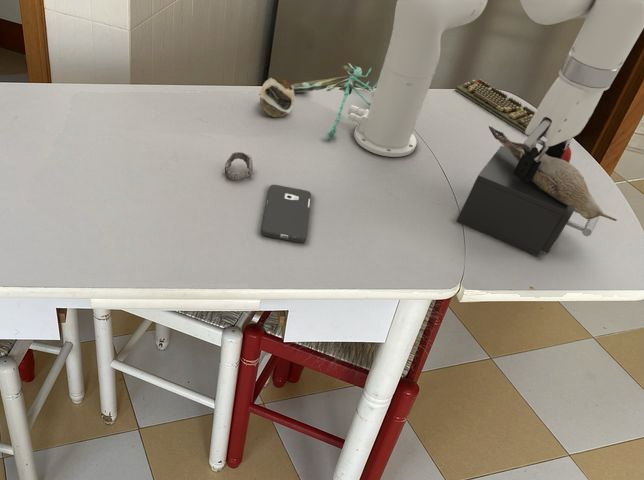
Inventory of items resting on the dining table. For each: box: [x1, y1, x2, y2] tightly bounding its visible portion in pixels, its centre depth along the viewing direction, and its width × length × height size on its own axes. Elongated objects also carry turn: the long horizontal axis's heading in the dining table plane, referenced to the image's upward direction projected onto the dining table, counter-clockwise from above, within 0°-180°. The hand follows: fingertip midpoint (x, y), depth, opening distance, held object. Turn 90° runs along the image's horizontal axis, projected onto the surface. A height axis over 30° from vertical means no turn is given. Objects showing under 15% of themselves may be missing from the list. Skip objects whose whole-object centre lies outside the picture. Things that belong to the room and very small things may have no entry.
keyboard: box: [454, 78, 536, 134], centre depth 154 cm, size 22×9×2 cm, turn 31°
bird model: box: [488, 125, 618, 222], centre depth 115 cm, size 29×6×5 cm, turn 26°
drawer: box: [540, 205, 601, 255], centre depth 120 cm, size 18×12×8 cm, turn 54°
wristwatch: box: [224, 151, 254, 181], centre depth 127 cm, size 4×6×5 cm
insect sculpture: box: [290, 62, 382, 141], centre depth 148 cm, size 6×20×30 cm
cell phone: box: [260, 184, 312, 244], centre depth 121 cm, size 8×15×1 cm, turn 169°
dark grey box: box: [456, 145, 585, 258], centre depth 121 cm, size 15×13×10 cm
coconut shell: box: [258, 76, 296, 118], centre depth 144 cm, size 8×8×6 cm
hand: (533, 171), depth 117 cm, fingers closed on bird model, 6 cm apart
